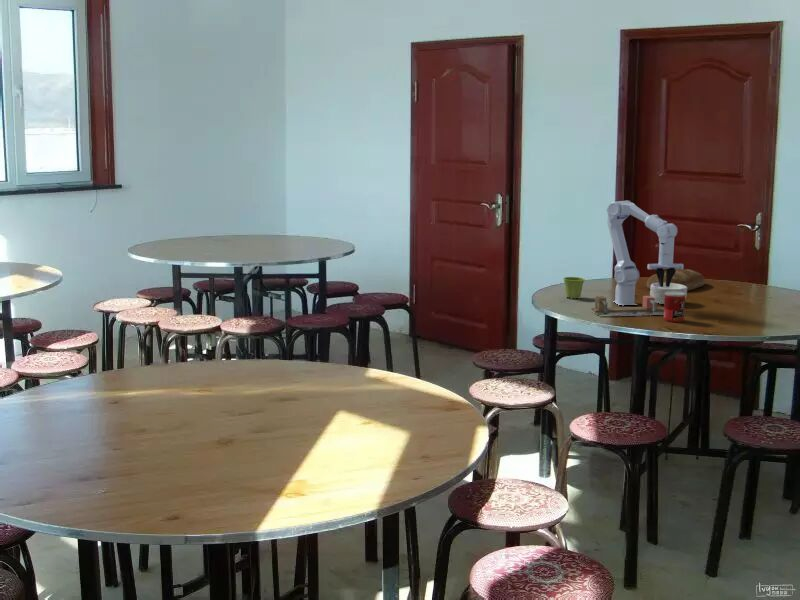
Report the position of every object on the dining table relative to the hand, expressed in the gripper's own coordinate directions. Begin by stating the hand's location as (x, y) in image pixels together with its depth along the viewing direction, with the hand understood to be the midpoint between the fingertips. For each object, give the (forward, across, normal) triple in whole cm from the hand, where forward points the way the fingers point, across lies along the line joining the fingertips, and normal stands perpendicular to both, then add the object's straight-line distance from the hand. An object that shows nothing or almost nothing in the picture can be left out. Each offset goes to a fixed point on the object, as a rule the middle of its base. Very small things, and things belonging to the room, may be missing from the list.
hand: (664, 286), depth 407 cm
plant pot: (+11, -28, +33) cm, 45 cm away
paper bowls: (+11, +8, +17) cm, 22 cm away
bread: (+11, +27, +56) cm, 63 cm away
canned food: (+11, -2, -18) cm, 21 cm away
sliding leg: (+9, -7, -2) cm, 11 cm away
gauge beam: (+10, -14, -2) cm, 18 cm away
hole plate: (+10, -14, -6) cm, 19 cm away
